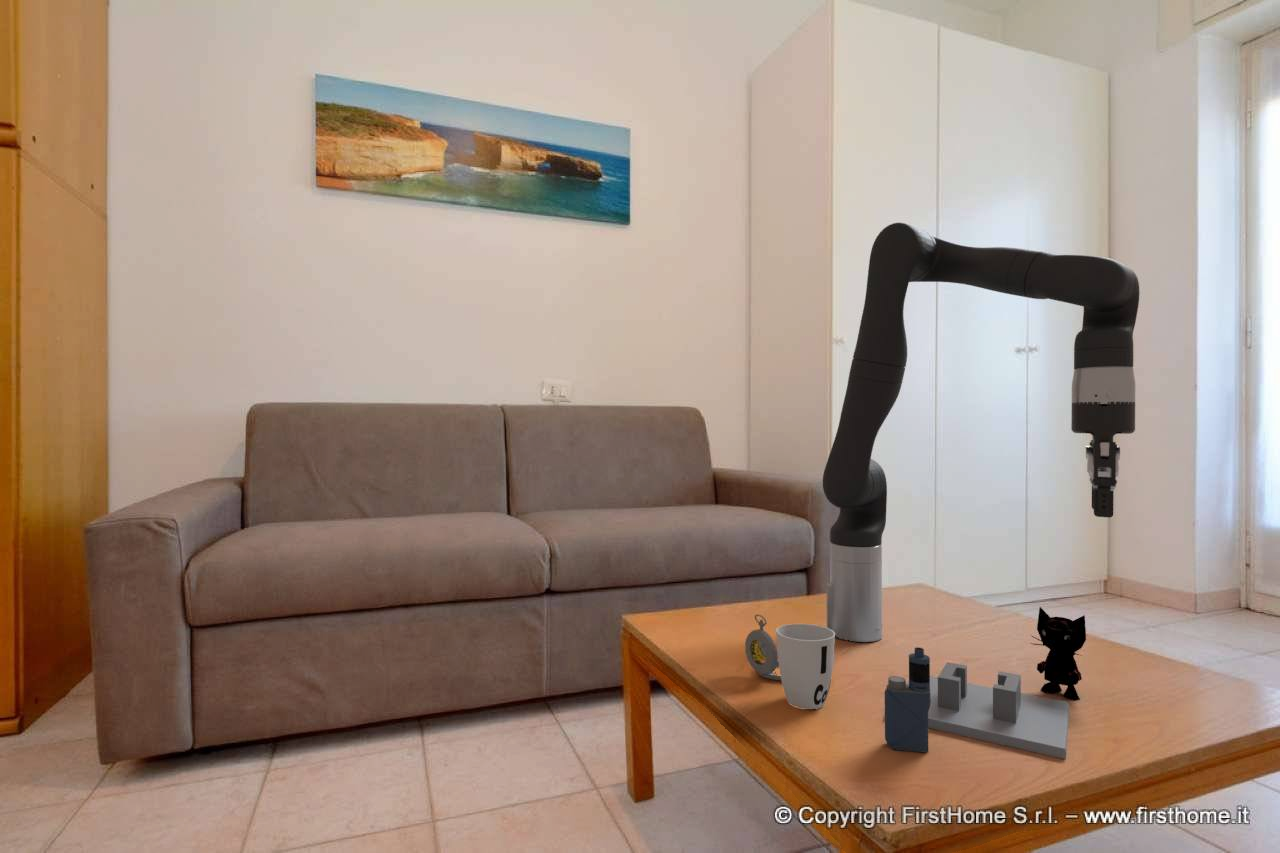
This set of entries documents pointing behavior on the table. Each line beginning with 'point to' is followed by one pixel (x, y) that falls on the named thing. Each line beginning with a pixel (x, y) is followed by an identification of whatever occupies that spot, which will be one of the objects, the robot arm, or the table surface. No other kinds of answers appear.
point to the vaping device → (909, 706)
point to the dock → (997, 712)
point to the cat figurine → (1060, 652)
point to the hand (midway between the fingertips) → (1101, 513)
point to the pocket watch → (762, 652)
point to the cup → (805, 663)
